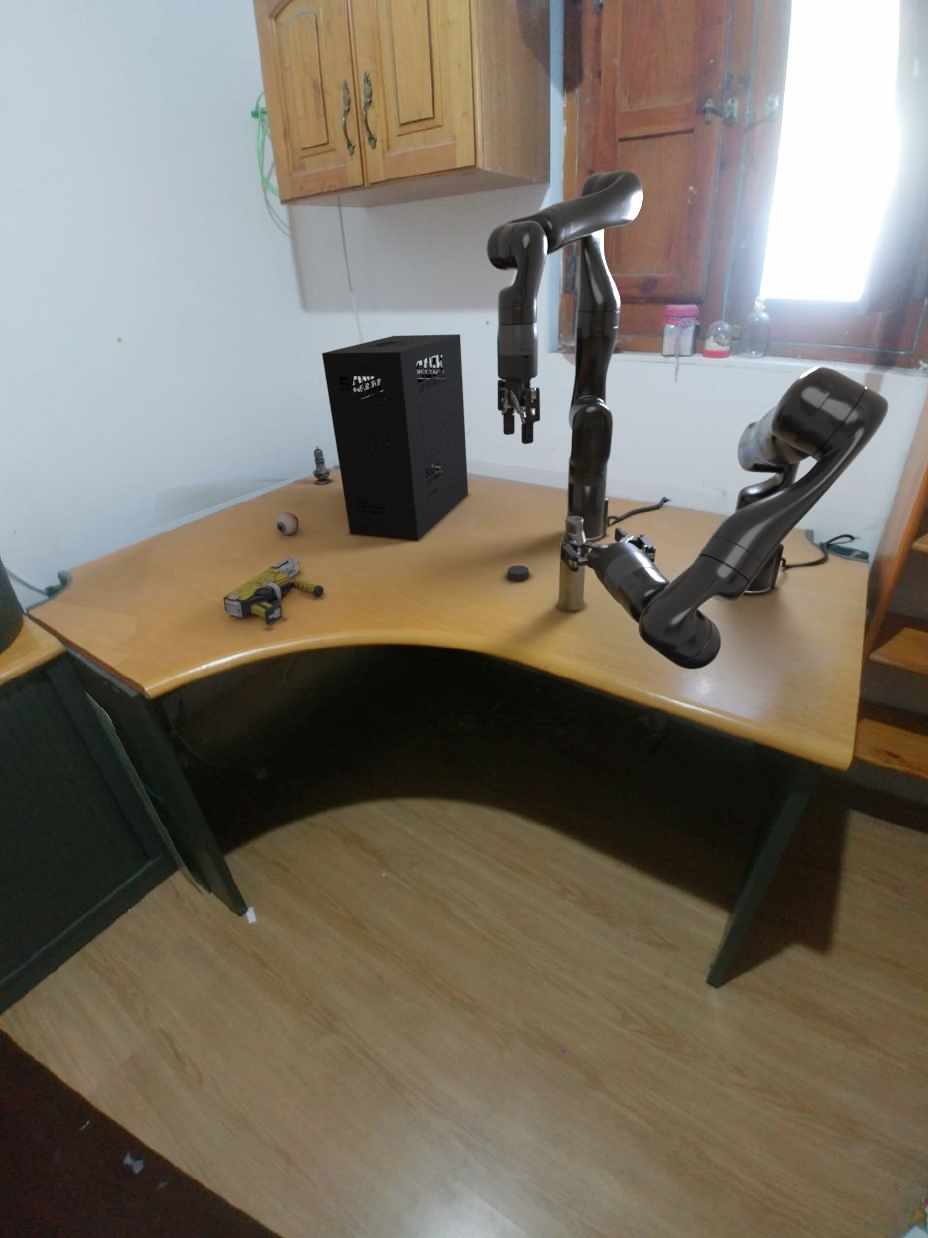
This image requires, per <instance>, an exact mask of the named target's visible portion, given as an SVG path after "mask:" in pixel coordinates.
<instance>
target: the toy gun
mask: <svg viewBox="0 0 928 1238" xmlns="http://www.w3.org/2000/svg"><path fill="white" fill-rule="evenodd" d="M300 561H301V560H300V559H299V558H297V557H294V558H293V557H292V556H288V557H287V558H284V559H283V560H282V561H280V562H278V563H277V564H275V565H274V566H270V567H269V568H267V569H266V570H263V571H262V572H260V573H259V574H257V575H256V576H254V577H252V578H251V579H249V580H248V581H246V582H245V583H243V584H241V585H240V586H238V587H237V588H235V589H233V590H232V591H230V592H228V593H227V594H225V595H224V596H223V597H222V601H223V607H224V611H225V612H226V614H227V615H229V617H230V618H233V619H238V618H245V619H246V618H250V617H253V616H258V617H261V618H262V619H264V620H265V624H266V625H268V626H269V625H271V624H273V623H275V622H276V621H279V620H281V619H282V618H283V617H284V616H283V607H282V603H280V601H281V600H282V595H283V594H286V593H287V592H290V591H291V590H293V589H296V590H299V591H301V592H304V593H307V594H309V595H313V596H314V597H316V598H321V596H322V595H323V594H324V587H323V586H322V585H319V584H315V583H312V582H310V581H307V580H304V579H302V578H298V577H297V578H296V579H294V581H292V580H291V578H294V577H295V576H296V575H297V574H299V573H300V572H301V562H300ZM297 565H298V569H296V568H295V567H296V566H297Z"/></svg>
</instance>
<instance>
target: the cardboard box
mask: <svg viewBox="0 0 928 1238" xmlns="http://www.w3.org/2000/svg"><path fill="white" fill-rule="evenodd" d="M321 356H322V362H323V363H322V364H323V368H324V369H323V370H324V376H325V381H326V382H325V383H326V388H327V395H328V403H329V407H330V413H331V420H332V426H333V433H334V440H335V445H336V452H337V459H338V464H339V466H338V467H339V472H340V477H341V486H342V491H343V497H344V504H345V511H346V517H347V522H348V523H347V524H348V529H349V534H352V535H363V536H371V537H381V538H391V539H401V540H411V541H419V540H420V539H421V538H423V537H424V536H425V535H426V534H427V533H428V532H429V531H430V530H432V528H433V527H434V526H435V525H436V524H438V522H440V520H442V519H443V518H444V517H445V516H446V515H448V513H450V512H451V511H452V510H453V509H454V508H455V507H456V506H457V505H458V504H459V503H461V501H462V500H464V498H466V497H467V496H468V495H469V486H468V465H467V464H468V463H467V444H466V425H465V406H464V405H465V403H464V385H463V364H462V344H461V334H459V333H458V334H415V335H414V334H413V335H411V334H410V335H392V336H387V337H383V338H379V339H376V340H370V341H366V342H362V343H358V344H354V345H350V346H345V347H341V348H338V349H333V350H330V351H325V352H322V353H321ZM425 360H426V363H425ZM437 360H438V363H439V366H438V363H437ZM420 362H421V364H420ZM430 364H431V365H430ZM355 377H356V378H355ZM368 377H369V379H368ZM372 377H373V378H372ZM359 378H360V380H359ZM364 378H365V379H364Z"/></svg>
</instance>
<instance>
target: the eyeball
mask: <svg viewBox="0 0 928 1238" xmlns="http://www.w3.org/2000/svg"><path fill="white" fill-rule="evenodd" d="M299 525H300V522H299V519H298V517H297V516H296V515H295V514H294V513H292V512H287V511H286V512H282V513H280V514H279V515H278V516H277V517H276V520H275V527H276V529H277V530H278V531H279V532H280V533H281V534H282V535H285V536H286V535H287V536H289V535H293V534H295V533H296V532H297V531H298V529H299Z"/></svg>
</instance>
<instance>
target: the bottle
mask: <svg viewBox="0 0 928 1238" xmlns="http://www.w3.org/2000/svg"><path fill="white" fill-rule="evenodd" d="M583 522H584V519H583V518H582V517H579V516H569V517H567V516H566V517H565V519H564V523H565V524H564V530H563V533H562V536H561V539H560V543H559V545H560V547H559V556H560V555H561V544H562V543H565V536H567V533H572V534H573V535H574V537H575V538H576V539H577V540H578V541H579V542H582V543H584V542H586V538H585V534H584V531H583ZM578 553H581V549H580V548H578ZM585 573H586V566H579V570H578V571H577V572H573V571H571V570H570V569H569V568H568V566H567V565H566V564H565V563H564V562H563V561H562V560H561V558H560V557H559V575H558V576H559V578H558V608H559V609H561V610H562V611H566V612H579V611H580V610H582V609H583V608H584V592H585V575H586V574H585Z"/></svg>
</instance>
